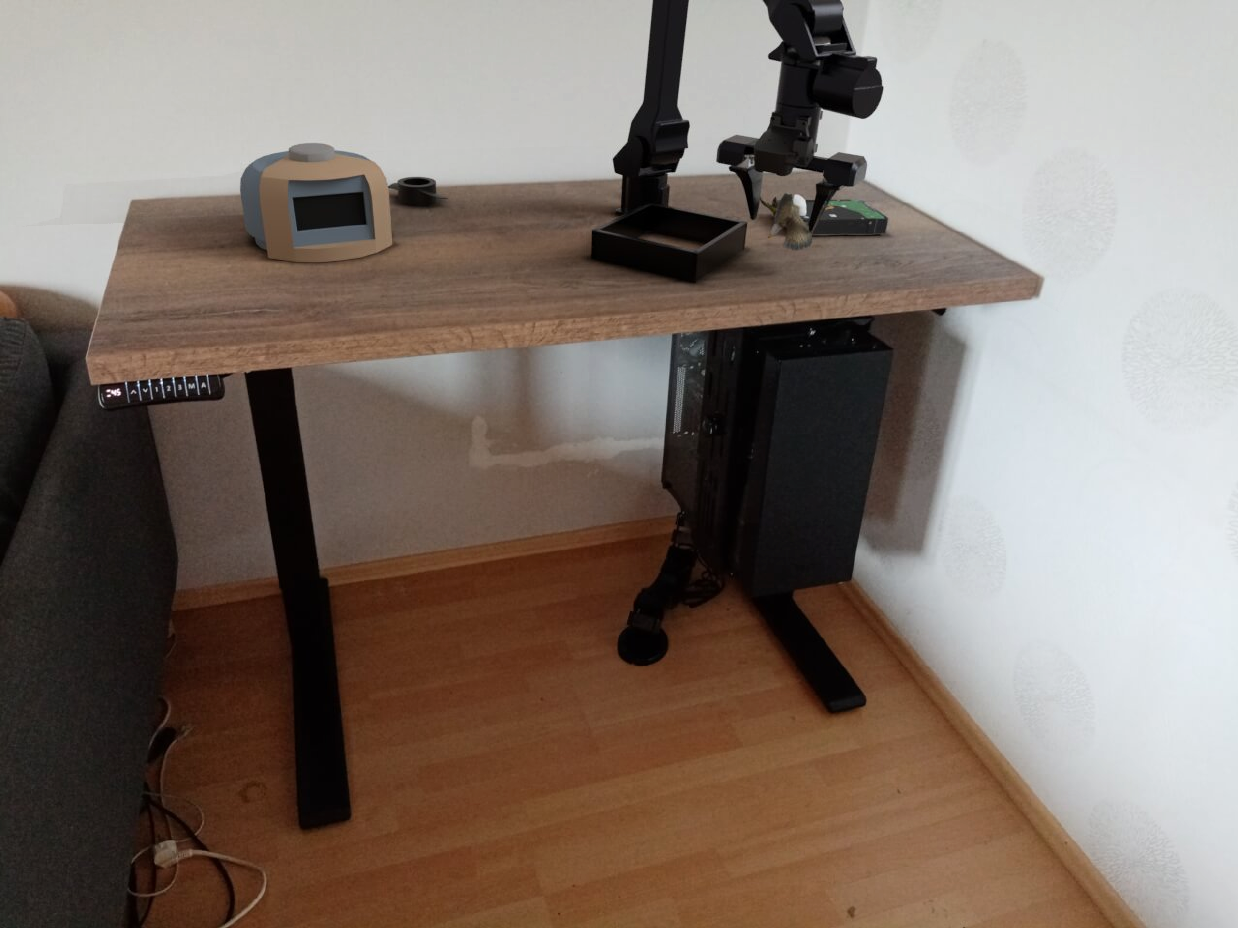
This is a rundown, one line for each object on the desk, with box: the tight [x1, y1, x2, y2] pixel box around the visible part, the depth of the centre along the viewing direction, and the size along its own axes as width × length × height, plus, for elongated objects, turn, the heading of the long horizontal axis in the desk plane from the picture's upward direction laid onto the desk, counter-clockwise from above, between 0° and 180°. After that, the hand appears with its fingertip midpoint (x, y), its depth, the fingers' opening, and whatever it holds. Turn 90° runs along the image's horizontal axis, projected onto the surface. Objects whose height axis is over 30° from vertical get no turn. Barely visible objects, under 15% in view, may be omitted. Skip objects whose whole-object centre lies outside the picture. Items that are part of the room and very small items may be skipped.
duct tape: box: [388, 176, 449, 207], centre depth 150 cm, size 8×10×3 cm
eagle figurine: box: [760, 192, 813, 252], centre depth 130 cm, size 8×7×9 cm
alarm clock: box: [239, 142, 393, 263], centre depth 131 cm, size 19×20×12 cm
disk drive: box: [777, 198, 889, 236], centre depth 150 cm, size 10×3×15 cm
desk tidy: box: [590, 202, 748, 284], centre depth 134 cm, size 16×17×4 cm
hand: (781, 225), depth 131 cm, fingers closed on eagle figurine, 8 cm apart
